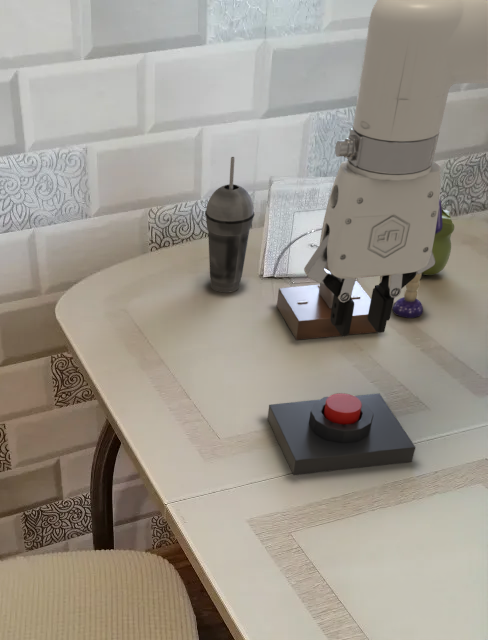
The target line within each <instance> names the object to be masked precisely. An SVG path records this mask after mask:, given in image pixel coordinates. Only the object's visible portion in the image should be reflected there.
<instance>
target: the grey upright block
mask: <svg viewBox="0 0 488 640" xmlns="http://www.w3.org/2000/svg"><path fill="white" fill-rule="evenodd" d="M325 269H326V270H329V269H328V264H326V266H325ZM319 284H320V287H319V293H320V295H321V296H322V298H323V299H324V301H325V302H326V304H327V305H328V307H329V308H332V304H333V298H334V294H333V293H332V292H331V291H330V290H329V289H328V288H327V287H326V285H324V284H322V283H319Z"/></svg>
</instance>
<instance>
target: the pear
mask: <svg viewBox="0 0 488 640" xmlns="http://www.w3.org/2000/svg"><path fill="white" fill-rule="evenodd" d="M454 231H455V225H454V223H453V220H452V217H451V212H450V211H449V210H448V209H442V230H441V231H440V232H439V233H437V234H435V237H434V242H433V248H432V252H433V255H434V258H435V264H434V266H432V267H431V268H429V269H427V270H426V271H424V272H422V275H423V276H433V275H436V274H438V273H440V272H442V271H443V270H444V269H445V267H446V266H447V265H448V262H449V260H450V256H451V251H452V240H451V239H452V238H451V237H452V234H453V232H454Z"/></svg>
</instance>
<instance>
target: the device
mask: <svg viewBox="0 0 488 640" xmlns="http://www.w3.org/2000/svg"><path fill="white" fill-rule="evenodd" d="M354 396H355V397H357V398H358V399H359V400H360V401H361V404H362V407H361V411H360V416H359V420H358V421H357V422H356V423H354V424H345V425H343V424H338V423H333V422H331V421H329V420H328V419H326V418H325V416H324V410H325V404H326V400H327V398H328V397H329V396H323V397H322V398H320V399H311V400H300V401H291V402H290V401H289V402H282V403H281V402H280V403H273V404H268V411H267V422H268V424H269V425H270V428H271V429H272V432H273V434H274V436H275V439H276V440H277V443H278V445H279V447H280V449H281V451H282V454H283V457H284V459H285V460H286V462H287V464H288V466H289V468H290V471H291V473H292V475H293V476H298V475H305V474H306V475H307V474H315V473H324V472H333V471H341V470H343V471H344V470H351V469H360V468H368V467H378V466H386V465H396V464H404V463H412V462H413V459H414V456H415V453H416V452H415V451H416V445H415V444H414V442H413V440H411V438H410V437H409V435H408V433H407V432H406V430H405V429H404V427H403V426H402V424H401V423H400V422H399V420H398V419H397V417H396V415H395V414H394V413H393V411H392V410H391V408H390V406H389V405H388V404H387V402H386V401H385V399H384V398H383V396H382V395H381V393H380V392H379V393H370V394H369V393H368V394H359V395H358V394H357V395H354Z"/></svg>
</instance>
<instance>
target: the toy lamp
mask: <svg viewBox="0 0 488 640" xmlns="http://www.w3.org/2000/svg"><path fill="white" fill-rule="evenodd" d="M442 207H443V206H442V201H441V199H440V198H439V209H438V217H437V224H436V231H435V234H437V233H439V232H440V231H441V230H442V210H443V208H442ZM422 275H423V274H422V273H420V274H417V275H416V276H415V277H414V279H412V280H411V281H410V282H409V283H408V284H407V285H405V291H404V293H403V297H400V298H399V299H397V300H396V301H395V303H393V306H392V311H393V313H394V314H395V315H396V316H399V317H401V318H406V319H407V318H408V319H415V318H418V317H420V316H421V315H422V314H423V313H424V306H423V304H422V302H421V301H420V300H419V299H418V298H417V297H418V290H419V288H420V280H421V279H422Z"/></svg>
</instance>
